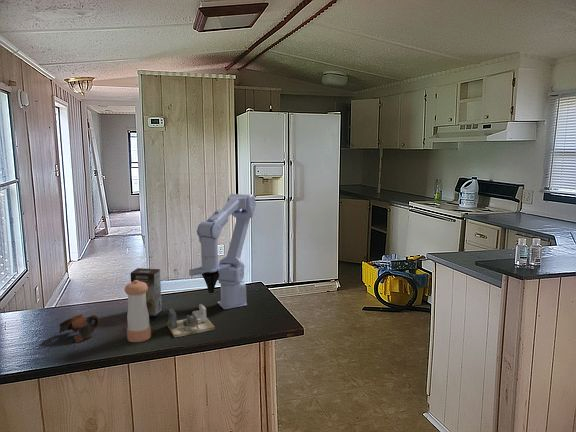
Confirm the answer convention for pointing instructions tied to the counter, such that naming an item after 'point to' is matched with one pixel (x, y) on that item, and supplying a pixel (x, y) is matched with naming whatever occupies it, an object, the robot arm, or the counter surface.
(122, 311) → the counter surface
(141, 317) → the salt shaker
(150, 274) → the coffee box
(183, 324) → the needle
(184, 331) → the gauge base
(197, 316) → the grey stepped block
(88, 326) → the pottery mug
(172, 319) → the anvil
